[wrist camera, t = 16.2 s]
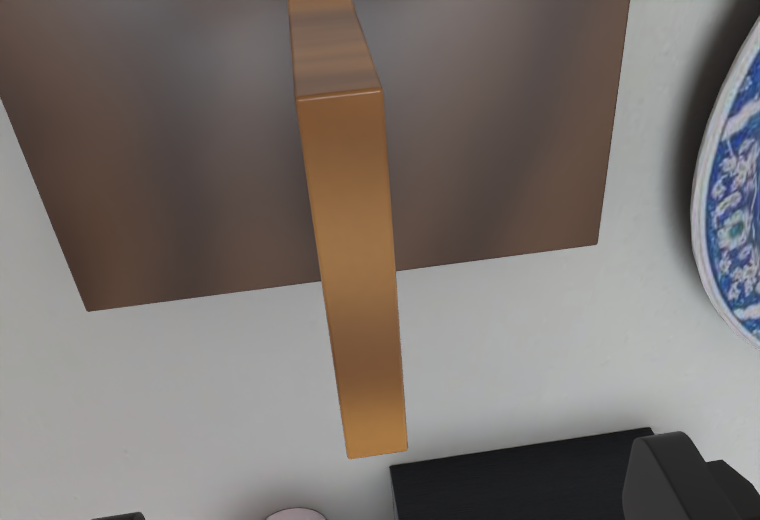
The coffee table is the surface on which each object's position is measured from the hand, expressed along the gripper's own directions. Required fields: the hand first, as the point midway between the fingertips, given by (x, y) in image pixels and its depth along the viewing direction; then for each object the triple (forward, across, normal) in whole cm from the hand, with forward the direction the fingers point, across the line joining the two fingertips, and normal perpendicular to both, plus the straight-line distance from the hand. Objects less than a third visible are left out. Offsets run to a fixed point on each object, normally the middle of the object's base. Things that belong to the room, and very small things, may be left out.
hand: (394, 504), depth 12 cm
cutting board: (+16, 0, 0) cm, 16 cm away
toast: (+15, 0, 0) cm, 15 cm away
